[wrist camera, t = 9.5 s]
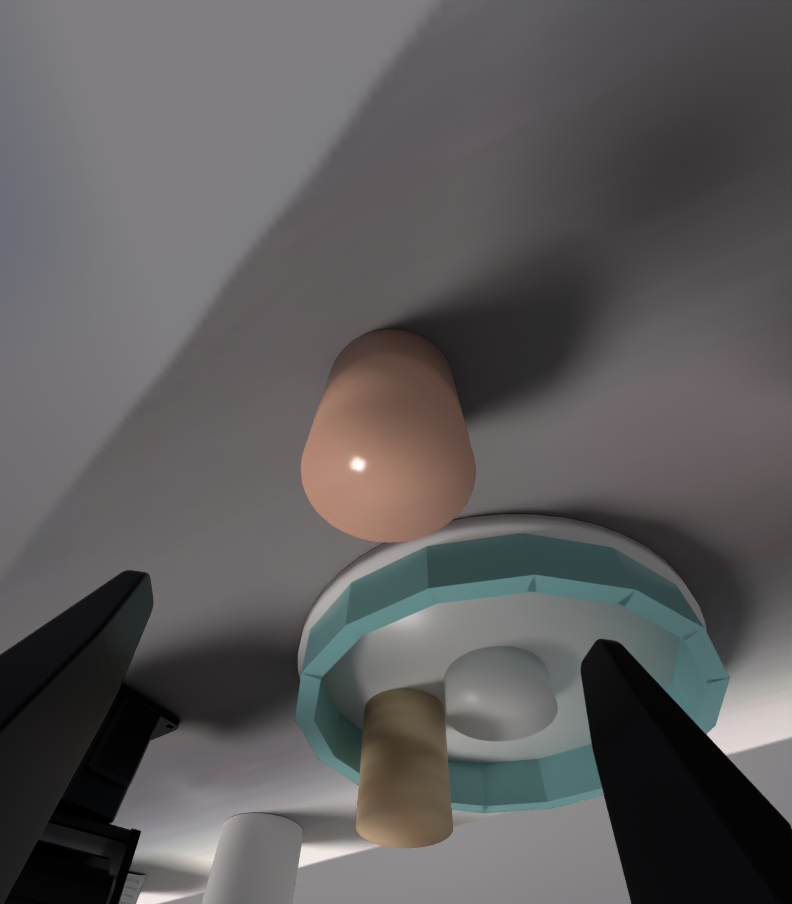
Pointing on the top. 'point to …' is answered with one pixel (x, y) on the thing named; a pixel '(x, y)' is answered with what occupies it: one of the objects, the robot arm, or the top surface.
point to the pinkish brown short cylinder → (389, 441)
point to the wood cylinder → (404, 771)
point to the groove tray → (500, 649)
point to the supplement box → (132, 888)
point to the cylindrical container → (255, 861)
